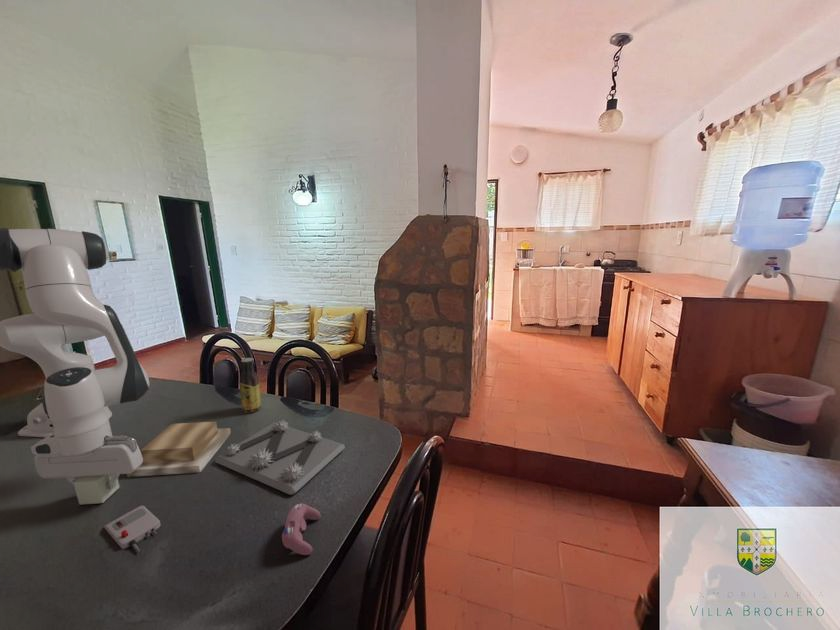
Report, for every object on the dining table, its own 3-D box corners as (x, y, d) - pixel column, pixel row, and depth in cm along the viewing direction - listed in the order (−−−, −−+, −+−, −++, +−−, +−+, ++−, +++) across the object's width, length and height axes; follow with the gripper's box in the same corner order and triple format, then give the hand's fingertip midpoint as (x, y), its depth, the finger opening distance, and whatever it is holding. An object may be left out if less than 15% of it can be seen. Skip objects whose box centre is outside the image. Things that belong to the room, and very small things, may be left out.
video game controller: (305, 523, 74) (288, 501, 72) (323, 514, 74) (307, 491, 72) (293, 565, 64) (273, 541, 62) (313, 555, 64) (294, 530, 62)
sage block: (79, 504, 76) (73, 482, 74) (97, 488, 81) (92, 467, 79) (102, 502, 76) (97, 481, 75) (119, 487, 81) (114, 466, 80)
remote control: (138, 505, 77) (136, 494, 76) (170, 535, 69) (167, 523, 69) (101, 526, 71) (98, 514, 71) (131, 561, 64) (128, 548, 63)
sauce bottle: (239, 411, 118) (232, 360, 114) (255, 404, 124) (249, 355, 119) (249, 416, 115) (242, 363, 111) (265, 408, 120) (259, 358, 116)
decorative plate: (347, 450, 98) (346, 429, 96) (292, 500, 79) (290, 475, 77) (275, 426, 110) (273, 407, 108) (213, 464, 91) (209, 442, 89)
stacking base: (127, 476, 85) (123, 457, 84) (171, 436, 103) (168, 419, 101) (200, 472, 87) (196, 452, 86) (230, 433, 105) (228, 416, 103)
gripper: (143, 427, 79) (153, 475, 82) (50, 431, 77) (64, 481, 80) (123, 443, 73) (135, 494, 76) (21, 448, 71) (38, 501, 74)
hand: (98, 488), depth 78 cm, fingers closed on sage block, 5 cm apart
